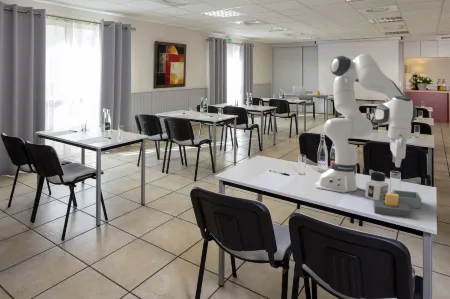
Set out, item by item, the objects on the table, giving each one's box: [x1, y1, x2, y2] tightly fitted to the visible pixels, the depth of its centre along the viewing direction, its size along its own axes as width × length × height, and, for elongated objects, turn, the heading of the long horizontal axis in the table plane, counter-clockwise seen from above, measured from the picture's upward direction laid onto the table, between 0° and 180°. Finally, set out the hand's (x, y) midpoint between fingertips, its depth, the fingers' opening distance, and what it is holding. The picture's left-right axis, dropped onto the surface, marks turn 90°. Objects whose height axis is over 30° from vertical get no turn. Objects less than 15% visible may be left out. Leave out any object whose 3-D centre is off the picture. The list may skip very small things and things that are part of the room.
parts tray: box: [391, 189, 423, 209], centre depth 164 cm, size 11×11×4 cm
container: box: [364, 171, 389, 201], centre depth 171 cm, size 8×8×13 cm
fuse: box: [384, 192, 399, 207], centre depth 154 cm, size 5×2×8 cm, turn 70°
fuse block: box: [372, 199, 411, 218], centre depth 154 cm, size 14×10×3 cm
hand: (396, 164), depth 150 cm, fingers open, 8 cm apart
